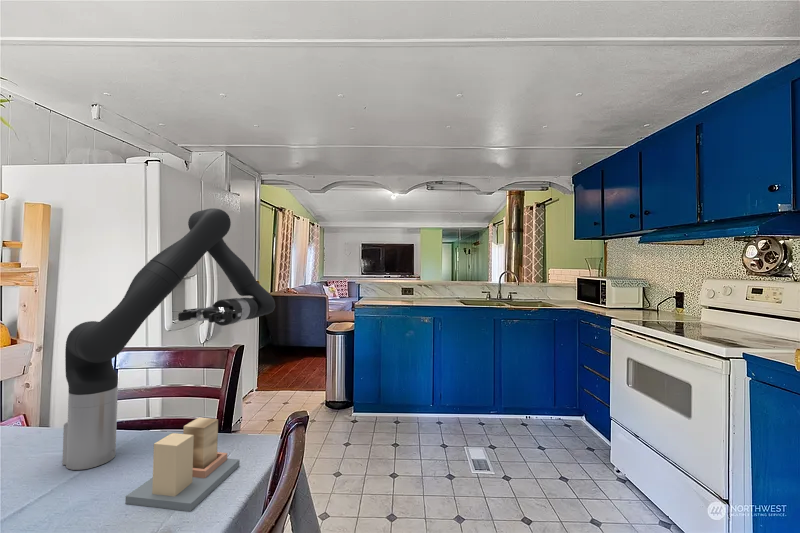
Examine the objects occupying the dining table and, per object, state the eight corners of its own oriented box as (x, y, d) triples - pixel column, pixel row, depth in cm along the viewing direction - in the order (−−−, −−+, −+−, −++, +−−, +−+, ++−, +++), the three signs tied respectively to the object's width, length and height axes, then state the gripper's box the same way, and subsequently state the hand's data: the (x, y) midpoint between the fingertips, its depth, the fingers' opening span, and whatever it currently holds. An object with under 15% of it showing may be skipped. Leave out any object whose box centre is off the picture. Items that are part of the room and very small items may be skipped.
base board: (125, 503, 74) (127, 445, 74) (185, 460, 91) (186, 413, 91) (190, 511, 72) (192, 451, 72) (239, 465, 89) (240, 417, 89)
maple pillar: (182, 471, 83) (183, 426, 83) (197, 460, 88) (198, 417, 88) (202, 473, 83) (204, 428, 83) (216, 462, 88) (218, 419, 88)
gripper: (209, 297, 113) (169, 302, 97) (254, 299, 111) (221, 304, 95) (208, 322, 113) (169, 331, 97) (253, 324, 111) (220, 333, 95)
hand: (194, 317), depth 96 cm, fingers open, 8 cm apart
